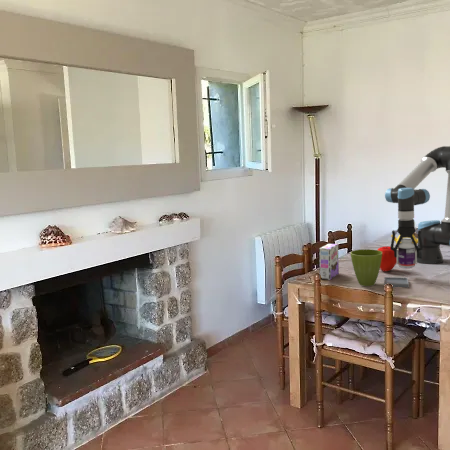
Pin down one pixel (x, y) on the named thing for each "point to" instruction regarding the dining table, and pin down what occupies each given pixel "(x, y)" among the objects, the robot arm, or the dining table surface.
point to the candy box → (328, 261)
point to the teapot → (405, 237)
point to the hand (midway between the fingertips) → (406, 263)
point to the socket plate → (396, 281)
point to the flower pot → (366, 265)
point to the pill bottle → (406, 253)
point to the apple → (387, 259)
